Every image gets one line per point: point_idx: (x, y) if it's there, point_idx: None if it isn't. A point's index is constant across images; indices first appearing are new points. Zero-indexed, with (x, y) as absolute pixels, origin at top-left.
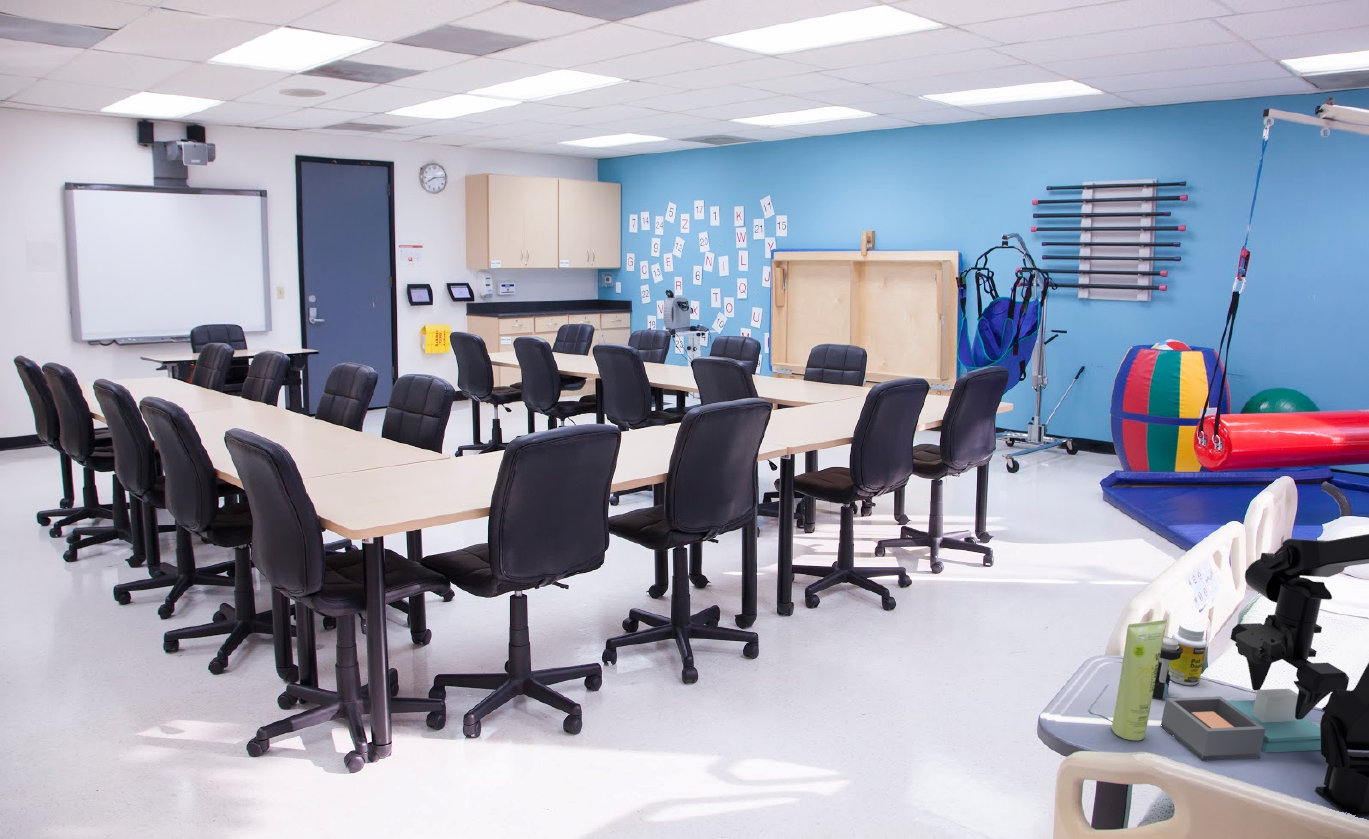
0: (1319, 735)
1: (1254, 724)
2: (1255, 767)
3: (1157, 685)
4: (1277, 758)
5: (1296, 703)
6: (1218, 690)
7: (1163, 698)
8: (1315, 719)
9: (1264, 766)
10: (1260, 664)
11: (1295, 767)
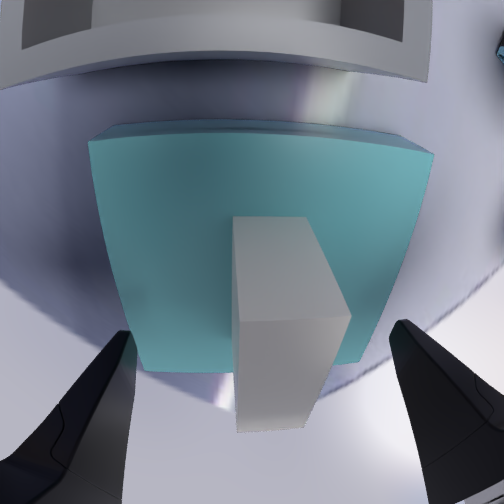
0: (139, 345)
1: (41, 44)
2: None
3: None
4: (78, 146)
5: (100, 393)
6: (470, 262)
7: (500, 48)
8: None
9: None
10: (450, 432)
11: (35, 175)
